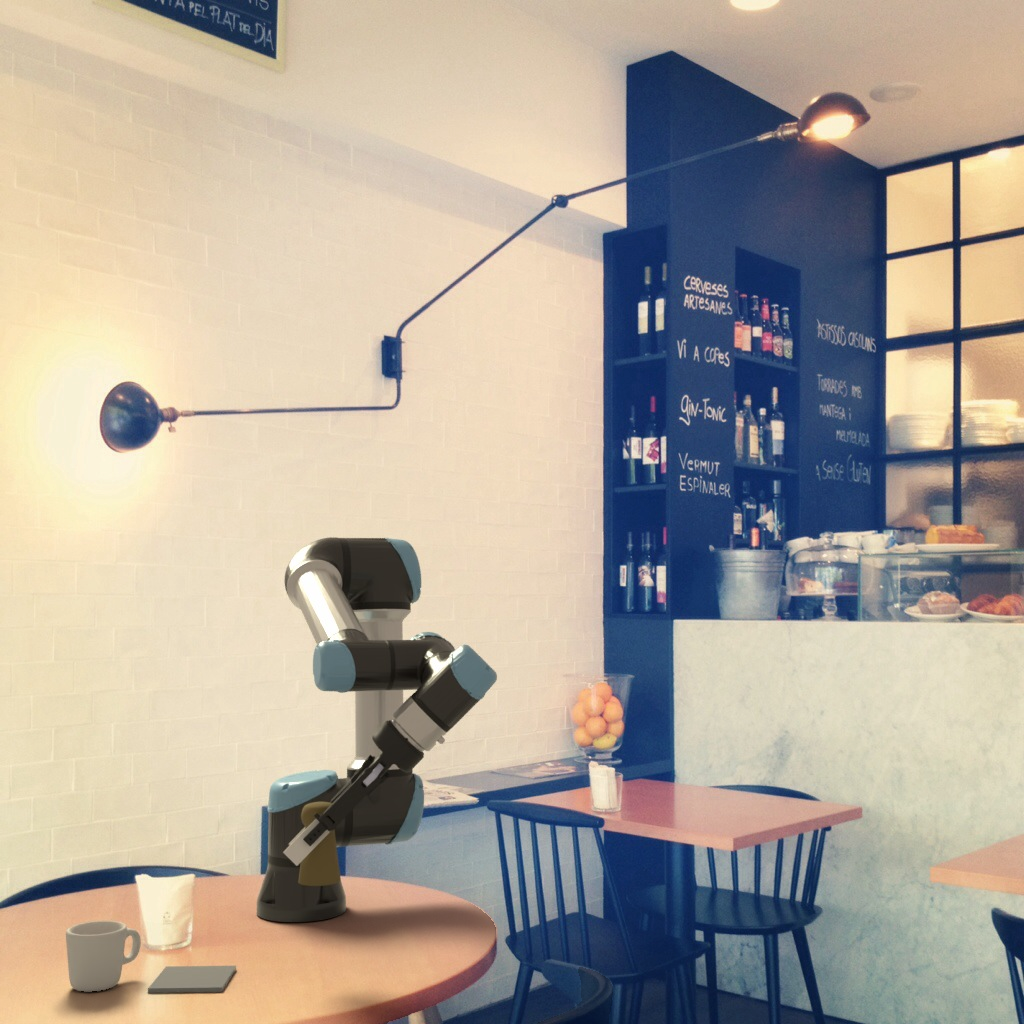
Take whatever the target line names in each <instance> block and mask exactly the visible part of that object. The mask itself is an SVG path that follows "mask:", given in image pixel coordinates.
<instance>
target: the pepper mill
mask: <svg viewBox="0 0 1024 1024" xmlns="http://www.w3.org/2000/svg"><path fill="white" fill-rule="evenodd" d="M331 804H332V803H328V802H313V803H309V804H307V805H305V806H304V808H303V809H302V813H301V819H302V823H303V824H304V826H305V829H306V828H307V827H308V826H309V825H310V824H311V823H312V822H313V821H314V820H315V819H316V818H315V817H314V814H315V813H318V814H319V815H320V814H322V813H324V812H325V811H326V809H327V808H328V807H329V806H330V805H331ZM337 848H338V847H337V846H336V839H335V831H334V830H333V831H330V833H329V834H328V835H327V836H326V837H325V838H324V839H323V840H322V841H321V842H320V843H319V844H318V845H317V846H316V847H315V848H314V849H313V850H312V851H311V852H310V853H309V854H308V855H307V856H306V857H305V858H304V859H303V860H302V861H301V864H300V872H299V880H298V883H299V884H302V885H307V886H324V885H331V884H335V883H338V882H340V881H341V882H342V880H341V871H340V865H339V864H340V863H339V855H338V849H337Z"/></svg>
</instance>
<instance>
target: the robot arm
mask: <svg viewBox="0 0 1024 1024" xmlns="http://www.w3.org/2000/svg"><path fill="white" fill-rule="evenodd" d="M419 561H420V560H419V559H418V556H417V552H416V550H415V549H414V547H413V546H412V545H411V543H410V542H408V541H407V540H404V539H397V538H389V537H335V536H333V537H325V538H324V537H323V538H319V539H317V540H314V541H311V542H310V543H307V544H306V545H305V546H303V547H302V548H301V549H299V550H298V551H297V552H296V553H295V554H294V556H293V557H292V558H291V559H290V561H289V562H288V565H287V567H286V569H285V573H284V588H285V589H284V590H285V592H286V595H287V596H288V598H289V600H290V602H291V603H292V605H294V607H296V608H298V609H299V610H300V611H301V613H302V615H303V617H304V619H305V621H306V623H307V626H308V628H309V630H310V632H311V635H312V636H313V639H314V641H315V643H316V645H315V648H314V651H313V657H312V675H313V677H314V680H313V681H314V684H315V686H316V687H317V689H318V690H320V691H323V692H338V693H341V694H343V693H349V692H354V695H355V696H354V697H355V698H354V699H355V700H354V703H355V704H354V705H355V706H354V707H355V709H354V710H355V711H354V712H355V713H354V714H355V715H354V716H355V720H354V721H355V727H354V728H355V733H354V734H355V757H354V759H352V761H351V762H350V763H349V764H348V765H347V767H346V777H345V778H343V777H342V778H339V775H338V773H337V772H336V771H334V770H332V769H331V770H330V769H323V770H311V771H309V770H308V771H304V772H298V773H293V774H289V775H286V776H283V777H280V778H278V779H276V780H275V781H274V782H273V783H272V785H271V786H270V788H269V793H268V794H269V796H268V805H267V812H268V822H267V823H268V830H267V832H268V833H267V837H268V840H267V867H266V871H265V875H264V878H263V880H262V883H261V887H260V890H259V893H258V895H257V899H256V915H257V916H258V917H259V918H261V919H263V920H267V921H272V922H279V923H280V922H281V923H306V922H307V923H308V922H315V921H317V922H318V921H322V920H327V919H328V920H329V919H331V918H332V919H333V918H335V917H338V916H340V915H342V914H343V913H345V912H346V910H347V897H346V893H345V889H344V886H343V882H342V880H341V881H340V882H338V883H335V884H331V885H324V886H307V885H302V884H299V883H298V880H299V872H300V864H301V861H302V860H303V859H304V858H305V857H306V856H307V855H308V854H309V853H310V852H311V851H312V850H313V849H314V848H315V847H316V846H317V845H318V844H319V843H320V842H321V841H322V840H323V839H324V838H325V837H326V836H327V835H328V834H329V833H330V831H333V830H334V831H335V839H336V846H337V848H341V847H343V848H344V847H355V846H356V847H357V846H367V845H381V844H383V845H384V844H385V845H391V844H395V843H401V842H408V841H410V840H411V839H412V838H413V837H415V835H416V834H417V832H418V830H419V828H420V826H421V822H422V819H423V814H424V807H425V806H424V805H425V804H424V803H425V790H424V783H423V779H422V778H421V776H420V775H419V774H416V773H413V769H414V768H415V767H416V766H417V765H418V764H419V763H420V762H421V760H423V759H424V757H425V753H424V751H425V752H430V751H431V750H432V749H433V748H434V747H435V746H436V745H437V742H438V744H440V745H443V744H444V743H445V741H446V739H445V738H444V737H443V736H446V735H447V733H448V732H449V731H451V729H452V728H454V727H455V725H456V724H458V723H459V722H460V721H461V720H462V719H463V718H464V717H465V716H466V715H467V714H468V713H469V712H470V711H471V710H472V708H473V707H475V706H476V704H477V703H479V702H480V701H481V700H482V699H483V698H485V695H486V694H487V692H488V691H489V690H490V689H491V688H492V687H493V686H494V685H495V684H496V681H497V679H498V675H497V672H496V671H495V669H493V668H492V667H491V666H490V665H489V664H488V663H487V662H486V661H485V660H484V659H483V657H481V655H479V653H477V652H476V650H474V648H472V647H471V646H470V645H468V644H463V645H460V646H459V647H457V648H455V646H454V645H453V644H452V643H451V642H450V641H449V640H448V639H446V638H445V637H443V636H442V635H440V634H439V633H435V632H432V631H423V632H420V633H418V634H416V635H414V636H412V637H411V638H410V639H403V637H404V636H403V633H404V632H403V631H404V630H403V622H404V620H405V619H406V617H408V615H409V614H410V613H411V612H412V610H411V609H412V608H411V605H412V604H414V603H416V602H417V601H419V599H420V598H421V593H422V591H421V590H422V589H421V588H422V571H421V566H420V562H419ZM411 690H413V691H415V692H413V693H412V694H411V695H410V696H409V697H408V698H406V700H405V701H404V691H411ZM313 802H328V803H332V804H331V805H330V806H329V807H328V808H327V809H326V811H325V812H324V813H322V814H320V815H319V814H318V813H315V814H314V817H315V818H316V819H315V820H314V821H313V822H312V823H311V824H310V825H309V826H308V827H307V828H306V829H305V826H304V824H303V823H302V819H301V813H302V809H303V808H304V806H305V805H307V804H309V803H313Z"/></svg>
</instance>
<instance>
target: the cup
mask: <svg viewBox="0 0 1024 1024" xmlns="http://www.w3.org/2000/svg"><path fill="white" fill-rule="evenodd" d="M129 936H130V937H131V939H132V945H131V946H132V947H131V949H130V952H129V953H128V954H127V955H125V946H126V940H127V939H128V937H129ZM65 940H66V953H67V954H66V955H67V964H68V966H67V967H68V969H67V970H68V979H69V983H70V986H71V988H72V989H74V990H75V991H77V992H81V991H84V992H83V993H93V992H92V991H97V992H102V991H101V990H103V991H106V989H107V990H109V988H110V989H113V987H115V986H117V984H118V983H119V982H120V979H121V976H122V970H123V965H126V964H130V963H131V962H133V961H134V960H136V958H137V957H138V955H139V954H140V949H141V935H140V933H139V931H137V929H134V928H130V927H127V925H126V924H125V923H124V922H121V921H116V920H95V921H94V920H93V921H88V922H83V923H82V922H81V923H78V924H73V925H72V926H70V927H68V928H67V929H66V931H65Z"/></svg>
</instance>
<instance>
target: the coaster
mask: <svg viewBox="0 0 1024 1024" xmlns="http://www.w3.org/2000/svg"><path fill="white" fill-rule="evenodd" d="M235 970H236V971H237V965H184V966H183V965H181V966H179V965H178V966H165V967H164V969H162V971H161V972H160V973H159V975H157V977H156V978H155V979H154V980H153V982H152V983H151V984H150V985H149V987H148V988H147V993H148V994H158V993H159V994H160V993H161V994H162V993H165V994H169V993H170V994H171V993H178V994H179V993H222V991H224V990H225V988H226V987H227V985H228V984H227V983H229V982H230V981H231V979H232V977H233V976H234V974H235V972H236V971H235ZM232 975H233V976H232ZM230 978H231V979H230Z"/></svg>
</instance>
